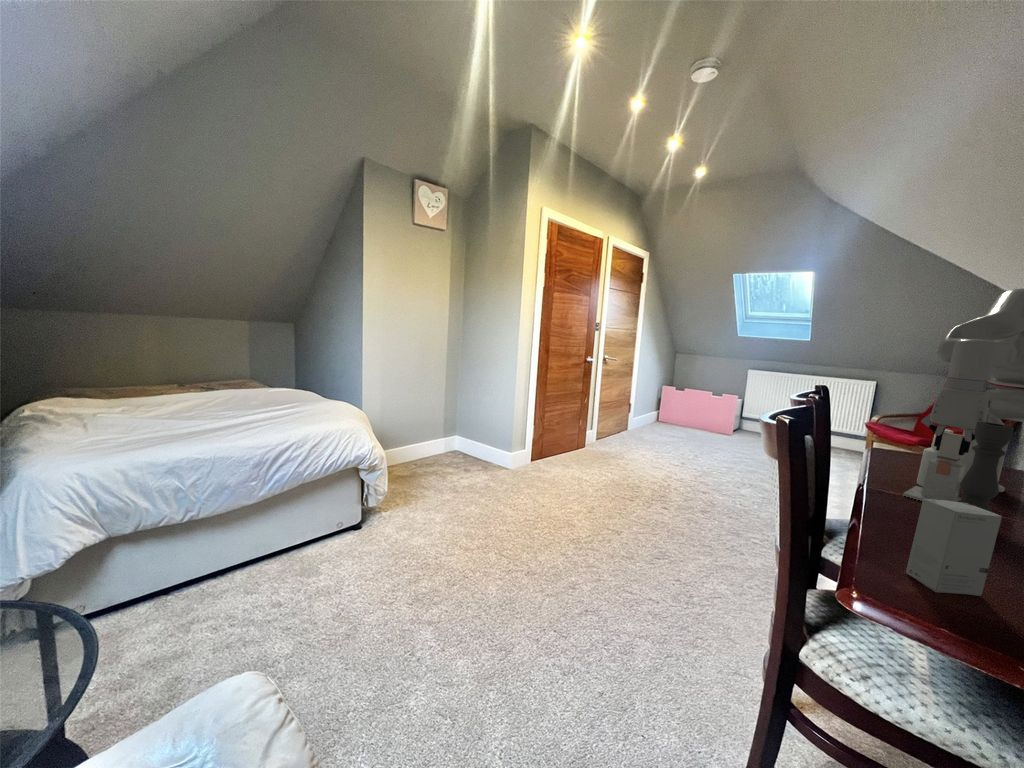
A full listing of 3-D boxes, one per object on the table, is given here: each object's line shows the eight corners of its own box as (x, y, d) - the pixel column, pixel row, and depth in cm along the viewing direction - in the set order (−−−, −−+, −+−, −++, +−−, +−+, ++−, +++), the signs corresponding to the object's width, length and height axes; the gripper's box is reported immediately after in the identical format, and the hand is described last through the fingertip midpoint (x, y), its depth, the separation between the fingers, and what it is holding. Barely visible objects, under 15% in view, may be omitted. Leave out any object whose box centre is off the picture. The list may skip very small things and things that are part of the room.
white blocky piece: (915, 489, 122) (923, 451, 120) (974, 505, 112) (985, 464, 110) (902, 496, 115) (911, 456, 113) (964, 514, 105) (975, 470, 103)
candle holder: (997, 532, 96) (1024, 429, 92) (970, 530, 96) (996, 427, 92) (968, 519, 102) (993, 422, 98) (943, 517, 102) (967, 420, 99)
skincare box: (935, 593, 70) (955, 512, 68) (902, 572, 76) (920, 497, 74) (984, 597, 70) (1006, 515, 68) (947, 575, 76) (966, 500, 74)
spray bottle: (946, 493, 120) (961, 434, 117) (914, 485, 125) (927, 428, 122) (948, 488, 124) (962, 431, 121) (917, 481, 129) (930, 425, 126)
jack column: (931, 491, 116) (945, 432, 113) (950, 497, 113) (965, 435, 110) (928, 494, 114) (942, 433, 111) (947, 499, 111) (962, 437, 108)
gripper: (1016, 391, 104) (998, 460, 107) (926, 380, 117) (912, 442, 120) (1012, 392, 100) (993, 464, 102) (919, 381, 113) (905, 445, 116)
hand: (950, 451), depth 111 cm, fingers closed on jack column, 3 cm apart
